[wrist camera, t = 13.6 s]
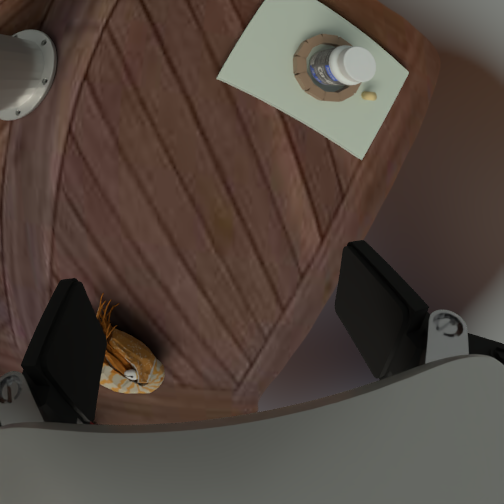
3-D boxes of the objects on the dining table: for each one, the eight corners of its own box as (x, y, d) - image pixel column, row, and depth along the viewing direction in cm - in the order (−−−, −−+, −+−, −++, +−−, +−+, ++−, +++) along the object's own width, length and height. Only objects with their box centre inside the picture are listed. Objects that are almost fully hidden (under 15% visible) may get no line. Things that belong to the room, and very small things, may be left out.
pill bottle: (301, 72, 30) (332, 68, 23) (318, 44, 28) (351, 33, 21) (332, 92, 32) (368, 94, 25) (348, 64, 30) (386, 60, 23)
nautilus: (72, 283, 40) (162, 286, 44) (93, 373, 49) (164, 376, 53) (59, 313, 33) (162, 318, 37) (88, 404, 42) (167, 408, 46)
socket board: (216, 78, 30) (218, 76, 27) (277, -18, 24) (284, -26, 21) (357, 157, 38) (369, 163, 36) (404, 72, 32) (417, 72, 30)
